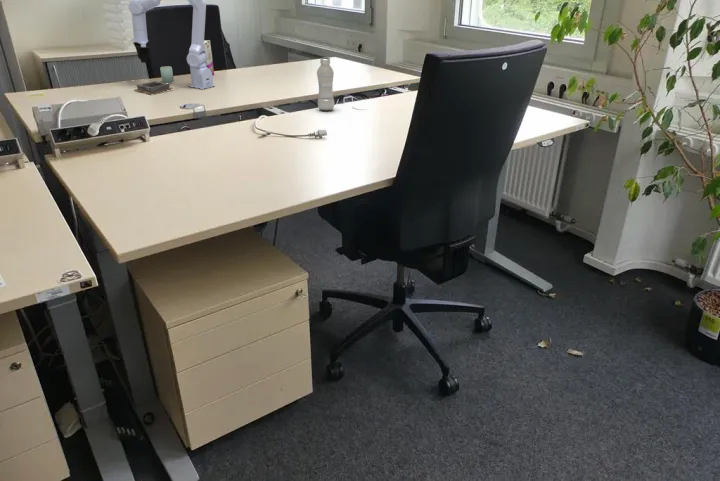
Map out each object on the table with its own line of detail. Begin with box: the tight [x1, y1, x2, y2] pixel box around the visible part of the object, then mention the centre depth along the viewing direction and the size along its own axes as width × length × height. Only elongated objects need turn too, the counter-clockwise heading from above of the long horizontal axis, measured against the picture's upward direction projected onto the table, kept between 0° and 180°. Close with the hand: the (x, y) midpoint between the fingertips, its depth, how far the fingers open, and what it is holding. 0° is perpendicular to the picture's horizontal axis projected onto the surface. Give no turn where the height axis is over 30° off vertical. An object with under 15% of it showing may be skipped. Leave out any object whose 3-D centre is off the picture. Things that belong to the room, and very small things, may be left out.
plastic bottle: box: [316, 57, 335, 112], centre depth 213 cm, size 6×7×20 cm
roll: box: [159, 65, 175, 84], centre depth 255 cm, size 5×5×7 cm
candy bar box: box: [204, 39, 215, 77], centre depth 265 cm, size 11×5×16 cm, turn 179°
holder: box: [133, 80, 174, 95], centre depth 242 cm, size 12×12×3 cm
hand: (142, 60), depth 248 cm, fingers open, 7 cm apart
